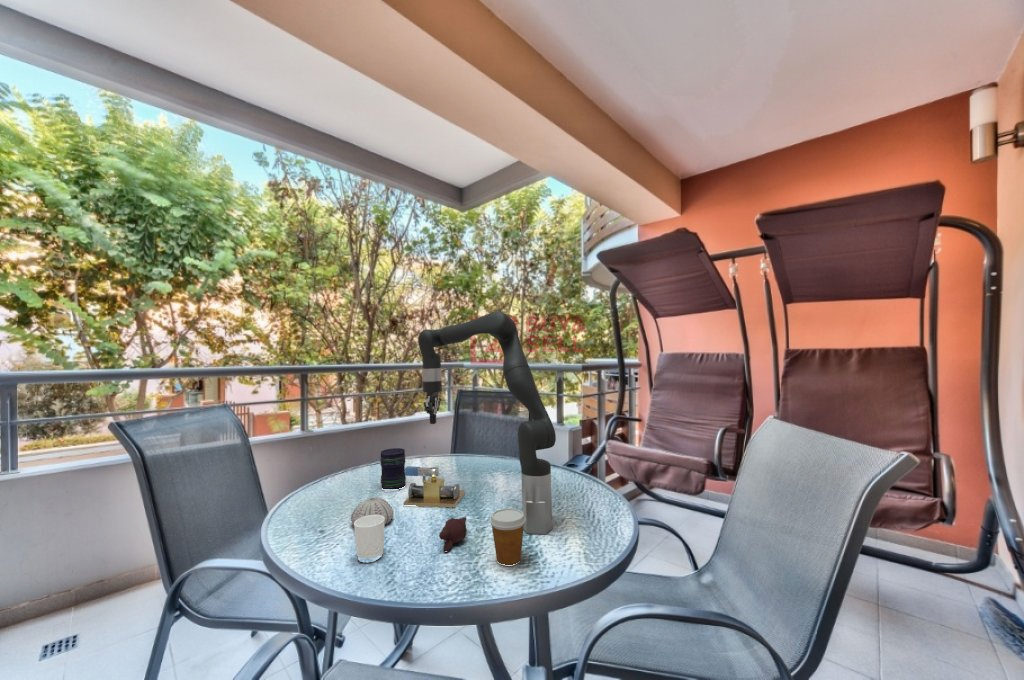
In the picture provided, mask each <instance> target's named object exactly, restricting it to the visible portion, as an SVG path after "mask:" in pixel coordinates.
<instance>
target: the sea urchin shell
mask: <svg viewBox="0 0 1024 680" xmlns="http://www.w3.org/2000/svg"><path fill="white" fill-rule="evenodd" d="M394 512H395V511H394V509H393V506H391V504H390V503H389V501H387V500H385V499H384V498H382V497H380V496H379V497H378V496H377V497H376V496H375V497H368V498H366V499H365V500H363V501H361V502H360V503H358V504H357V506H355V508H354V509H353V511H352V512H351V514H350V521H351V523H352V524H353V525H354V522H355V521H356V520H357V519H359V518H361V517H364V516H368V515H381V516H383V517H384V518H385V524H384V526H386V525H387V524H389V523H390V522H392V520H393V517H394V514H395V513H394ZM391 519H392V520H391ZM388 522H389V523H388ZM386 523H387V524H386Z"/></svg>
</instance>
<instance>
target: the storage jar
mask: <svg viewBox="0 0 1024 680" xmlns="http://www.w3.org/2000/svg"><path fill="white" fill-rule="evenodd" d="M379 461H380V466H381V468H380V470H381V475H380V486H381V487H382V488H383V489H399V488H402V487H404V486H405V485H406V480H407V476H405V468H406V466H405V465H406V450H405V448H397V447H394V448H388V449H384V450H381V451H380V460H379Z"/></svg>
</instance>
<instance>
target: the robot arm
mask: <svg viewBox="0 0 1024 680" xmlns="http://www.w3.org/2000/svg"><path fill="white" fill-rule="evenodd" d="M481 334H483V335H484V334H485V335H486V334H487V335H490V336H492V337H493V338H495V339H496V340H497V341H498V344H499V346H500V349H501V351H502V354H503V364H502V372H503V377H504V379H505V384H506V386H507V389H508V390H509V392H510V394H512V396H514V397H515V399H516V400H517V401H519V402H520V403H521V404H522V406H524V408H526V409H527V411H528V412H529V414H530V416H531V420H525V421H522V422H521V423H520V424H519V426H518V430H517V444H518V445H517V446H518V456H519V465H520V470H521V471H520V474H521V476H520V477H521V507H522V509H521V511H522V512H523V514H524V517H525V519H526V521H525V524H524V528H523V531H525V534H530V535H532V534H533V535H534V534H535V535H547V534H548V533H549V532H550V531H552V529H553V502H552V501H553V500H552V467H551V466H552V465H551V463H550V462H549V461H548V460H545V459H543V458H538V456H537V451H541V450H546V449H551V448H553V447H554V446H555V444H556V441H557V435H556V430H555V427H554V425H553V422H552V420H551V417H550V415H549V414H548V412H547V408H546V407H545V405H544V403H543V400H542V399H541V396H540V393H539V391H538V387H537V386H536V382H535V380H534V377H533V373H532V369H531V367H530V365H529V363H528V360H527V358H526V355H525V352H524V350H523V348H522V344H521V340H520V338H519V331H518V328H517V325H516V322H515V321H514V320H513V319H512V318H511V317H510V316H508V315H507V314H506V313H504V311H503V312H502V311H500V310H497V311H492V312H490V313H487V314H485V315H482V316H479V317H477V318H474V319H472V320H469V321H466V322H462V323H457V324H453V325H447V326H443V327H442V328H441V329H440V328H439V329H423V330H421V331H420V333H419V335H418V339H417V340H418V347H419V350H420V355H421V358H422V376H421V377H422V392H423V393H425V394H426V395H425V396H426V398H425V401H423V406H424V408H425V410H426V413H427V414H428V415H429V424H430V425H435V424H437V414H438V412H439V410H440V408H441V407H440V406H441V402H442V398H441V397H440V396H439V393H440V392H442V391H443V378H442V376H443V375H442V367H441V366H442V364H441V362H442V359H441V355H440V354H439V353H437V352H436V351H435V348H439V347H440V348H441V347H443V346H448V345H453V344H457V343H463V342H465V341H468V340H469V339H471V338H472V337H473V336H475V335H481Z"/></svg>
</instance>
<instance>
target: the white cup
mask: <svg viewBox="0 0 1024 680" xmlns="http://www.w3.org/2000/svg"><path fill="white" fill-rule="evenodd" d="M384 524H385V518H384V517H383V516H381V515H368V516H364V517H361V518H359V519H357V520H356V521H355V522H354V524H353V527H354V539H355V540H354V542H355V549H356V557H357V556H358V557H360V558H373V557H374V558H375V557H377V556H379V555H381V554H382V553H383V554H384V546H385V525H386V524H385V525H384Z"/></svg>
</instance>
